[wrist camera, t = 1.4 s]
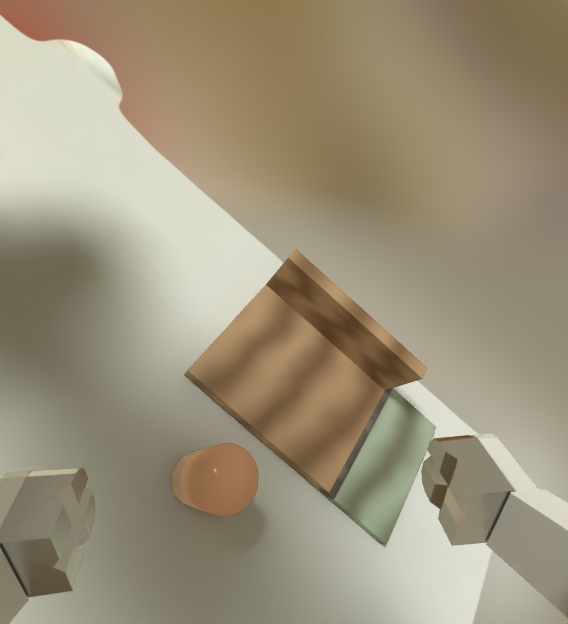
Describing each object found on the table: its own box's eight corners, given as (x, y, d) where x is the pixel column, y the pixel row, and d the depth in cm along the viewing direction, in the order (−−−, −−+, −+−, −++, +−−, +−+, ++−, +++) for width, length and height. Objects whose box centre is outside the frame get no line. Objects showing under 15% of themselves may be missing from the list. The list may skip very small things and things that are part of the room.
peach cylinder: (159, 484, 39) (177, 487, 29) (195, 440, 41) (222, 429, 32) (200, 518, 39) (231, 531, 30) (233, 472, 42) (270, 471, 32)
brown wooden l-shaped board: (184, 374, 43) (201, 352, 36) (267, 283, 52) (296, 249, 44) (379, 542, 45) (436, 556, 37) (429, 428, 53) (484, 419, 46)
